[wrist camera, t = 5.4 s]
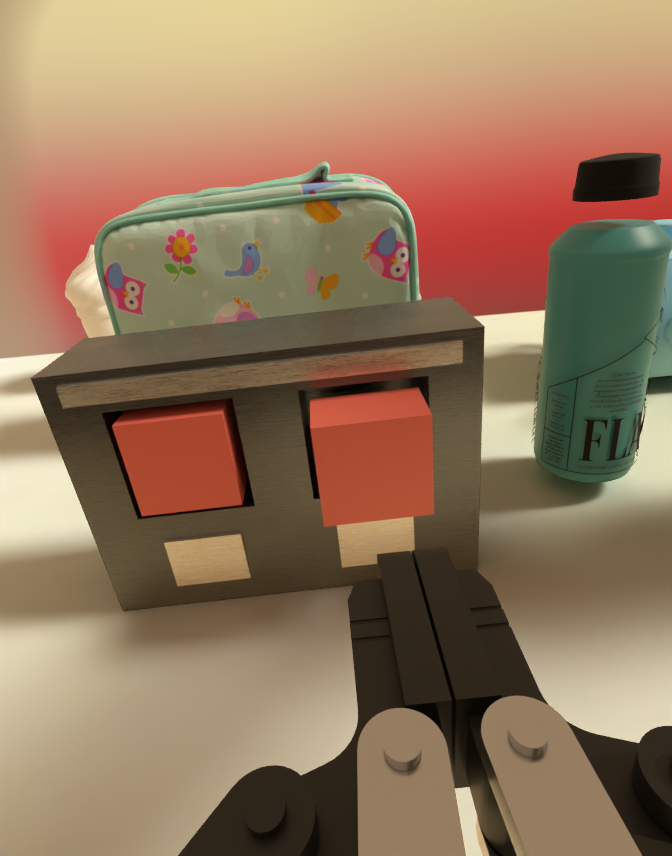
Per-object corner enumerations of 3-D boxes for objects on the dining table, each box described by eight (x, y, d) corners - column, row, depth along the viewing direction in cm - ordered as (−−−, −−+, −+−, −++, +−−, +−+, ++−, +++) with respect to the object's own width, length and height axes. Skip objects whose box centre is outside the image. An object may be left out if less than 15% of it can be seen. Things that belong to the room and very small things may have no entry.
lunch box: (419, 381, 54) (412, 152, 45) (438, 424, 45) (434, 148, 35) (170, 406, 55) (111, 187, 46) (139, 453, 46) (56, 191, 36)
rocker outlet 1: (252, 454, 30) (235, 374, 28) (242, 504, 25) (222, 413, 23) (166, 464, 30) (143, 385, 28) (142, 516, 25) (112, 426, 23)
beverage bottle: (569, 514, 32) (614, 157, 23) (510, 464, 38) (528, 162, 29) (656, 490, 34) (730, 142, 25) (586, 445, 39) (625, 150, 30)
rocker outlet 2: (413, 458, 28) (410, 371, 25) (434, 514, 23) (432, 414, 21) (321, 469, 28) (309, 383, 25) (324, 526, 23) (310, 428, 21)
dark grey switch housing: (450, 507, 34) (450, 296, 28) (478, 572, 29) (485, 327, 22) (151, 541, 34) (84, 338, 28) (121, 613, 29) (28, 379, 22)
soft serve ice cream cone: (82, 383, 65) (36, 251, 57) (138, 362, 70) (102, 239, 63) (120, 393, 60) (75, 251, 53) (177, 369, 66) (143, 238, 59)
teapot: (551, 343, 60) (562, 217, 54) (649, 335, 59) (672, 206, 53) (648, 429, 41) (683, 247, 34) (796, 418, 40) (859, 229, 34)
